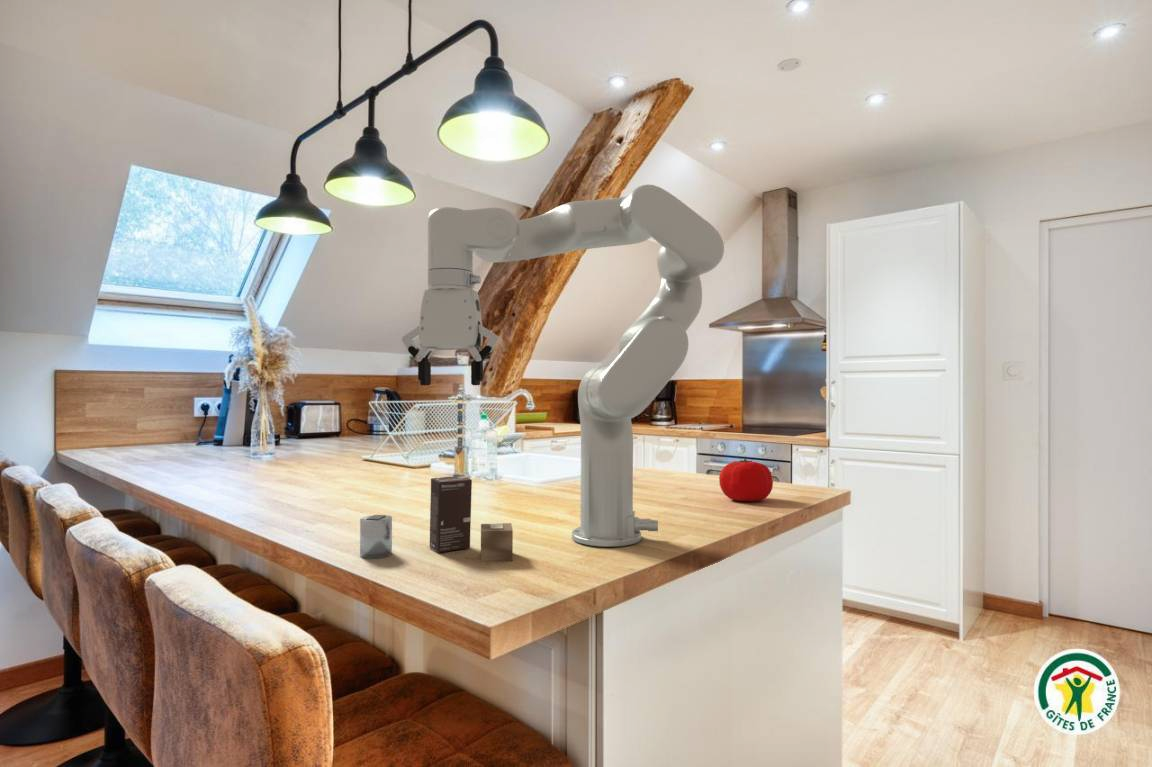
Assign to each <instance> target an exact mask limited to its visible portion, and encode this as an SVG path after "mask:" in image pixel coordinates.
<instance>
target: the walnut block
mask: <svg viewBox="0 0 1152 767" xmlns="http://www.w3.org/2000/svg"><path fill="white" fill-rule="evenodd" d="M513 534H514V533H513V526H512V522H507V523H506V522H504V523H481V524H480V563H497V562H498V563H500V562H501V563H502V562H503V563H504V562H513V552H514V551H513V550H514V549H513V544H514V543H513V542H514V541H513V539H514V538H513V536H514V535H513Z"/></svg>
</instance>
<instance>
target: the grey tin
mask: <svg viewBox="0 0 1152 767" xmlns="http://www.w3.org/2000/svg"><path fill="white" fill-rule="evenodd" d="M392 554H393V517H392V516H391V515H387V514H373V515H372V514H371V515H367V516H363V517H360V518H359V558H361V559H365V560H376V559H378V560H379V559H384V558H388V557H390V556H392Z"/></svg>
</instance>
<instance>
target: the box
mask: <svg viewBox="0 0 1152 767" xmlns="http://www.w3.org/2000/svg"><path fill="white" fill-rule="evenodd" d="M472 480H473V479H471V478H469V477H467V476H464V475H457V476H455V475H454V476H443V477H442V476H441V477H432V478H430V506H429V507H430V508H429V509H430V510H429V511H430V512H429V514H430V515H429V516H430V517H429V548H430V550H432V551H434V552H436V553H438V554H439V553H443V552H444V553H445V552H451V551H456V550H457V551H458V550H465V549H470V548H471V523H472V522H471V521H472V519H471V518H472V487H473V486H472V485H473V481H472Z"/></svg>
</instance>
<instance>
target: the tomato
mask: <svg viewBox="0 0 1152 767" xmlns="http://www.w3.org/2000/svg"><path fill="white" fill-rule="evenodd" d="M756 460H758V459H753V460H747V459H746V458H745V459H743V460H739V461H738V460H735V461H733V460H732V461H731V462H729V463H728V464H726V465H725V466H723V468H722V469H721V470H720V473H719V476H718V479H719V487H720V489H721V491H722V492H723V494H724V496H726V497H727V498H728V499H729V500H734V501H738V502H761V501H764V500H765V499H767V498H768V496H769V495H770V494H771V492H772V490H773V487H774V486H773V485H774V481H773V477H772V476H773V475H772V471H771V470H770V468H769V467H768V466H767V465H765V464H763V463H760V462H758V461H756Z"/></svg>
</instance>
